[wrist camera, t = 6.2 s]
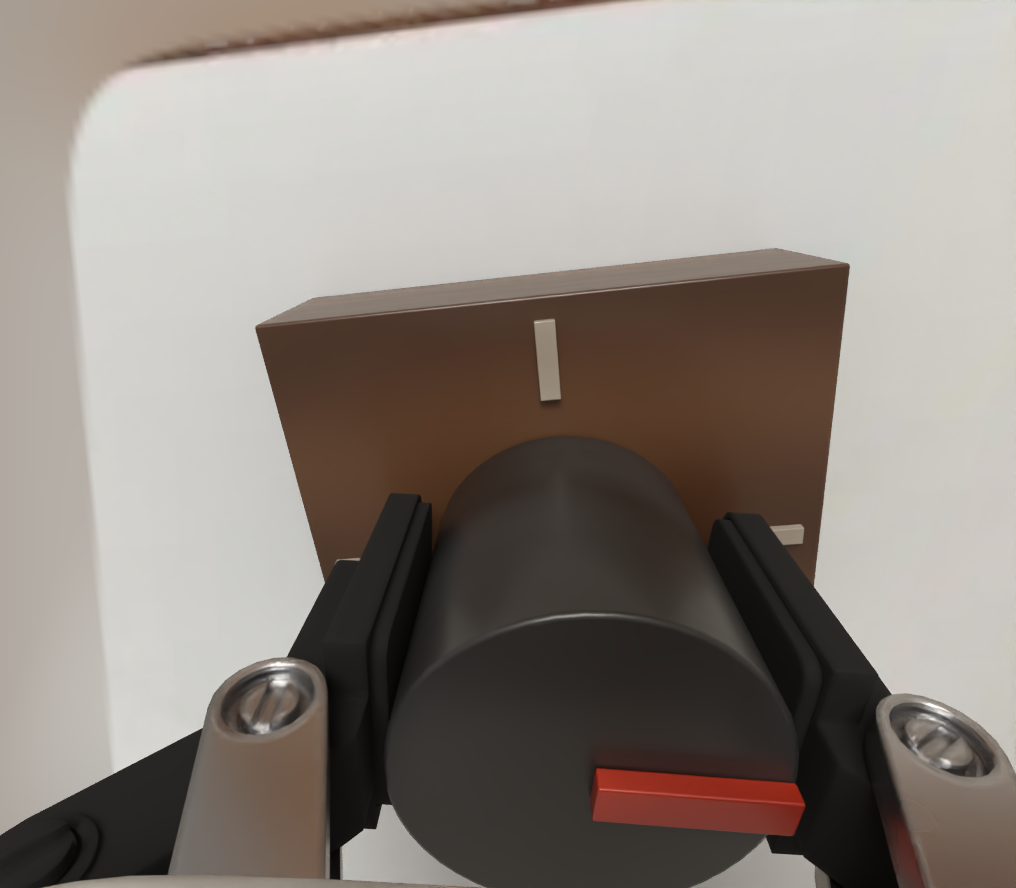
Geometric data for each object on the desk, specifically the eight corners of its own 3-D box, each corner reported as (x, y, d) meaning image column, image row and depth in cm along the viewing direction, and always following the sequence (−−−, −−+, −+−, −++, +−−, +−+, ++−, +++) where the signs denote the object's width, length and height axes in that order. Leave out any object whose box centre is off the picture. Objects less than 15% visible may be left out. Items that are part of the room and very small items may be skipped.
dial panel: (311, 297, 13) (249, 327, 10) (778, 247, 12) (857, 263, 9) (394, 653, 17) (366, 749, 14) (752, 630, 16) (803, 726, 13)
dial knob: (435, 640, 13) (378, 919, 8) (441, 424, 11) (370, 615, 6) (666, 658, 13) (753, 948, 8) (715, 445, 11) (873, 655, 6)
